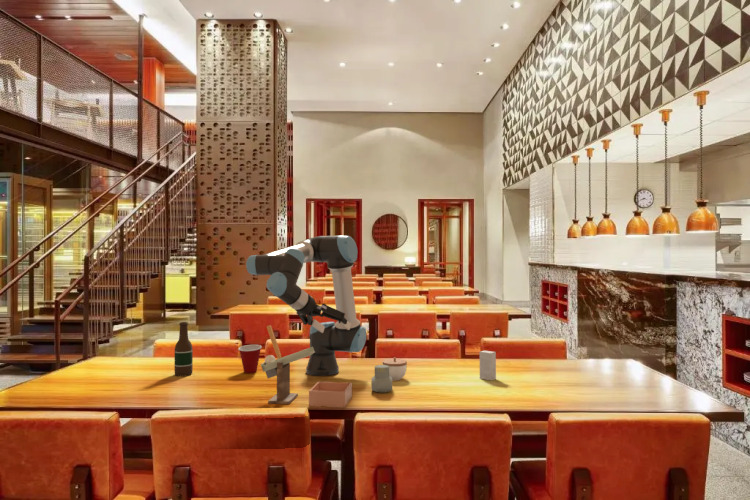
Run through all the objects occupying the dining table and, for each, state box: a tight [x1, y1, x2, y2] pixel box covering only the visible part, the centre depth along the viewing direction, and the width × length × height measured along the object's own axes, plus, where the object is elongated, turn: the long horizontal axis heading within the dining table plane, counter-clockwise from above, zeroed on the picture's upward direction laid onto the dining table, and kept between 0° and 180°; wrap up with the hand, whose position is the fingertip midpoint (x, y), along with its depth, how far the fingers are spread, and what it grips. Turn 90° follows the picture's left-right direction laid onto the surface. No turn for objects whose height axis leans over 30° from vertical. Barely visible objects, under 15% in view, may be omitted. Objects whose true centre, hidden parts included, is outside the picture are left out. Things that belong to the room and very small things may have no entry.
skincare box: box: [478, 350, 497, 381], centre depth 224 cm, size 6×4×12 cm
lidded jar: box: [382, 357, 408, 381], centre depth 225 cm, size 11×11×9 cm
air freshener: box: [370, 364, 393, 394], centre depth 205 cm, size 11×8×10 cm
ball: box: [264, 354, 276, 364], centre depth 193 cm, size 4×4×4 cm
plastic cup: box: [238, 344, 263, 374], centre depth 238 cm, size 11×11×12 cm
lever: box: [260, 324, 315, 379], centre depth 194 cm, size 20×10×18 cm, turn 82°
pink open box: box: [308, 381, 353, 408], centre depth 190 cm, size 13×13×6 cm
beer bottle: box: [174, 321, 194, 377], centre depth 233 cm, size 8×8×24 cm
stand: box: [267, 362, 299, 405], centre depth 193 cm, size 8×11×15 cm
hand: (336, 328), depth 200 cm, fingers open, 13 cm apart
